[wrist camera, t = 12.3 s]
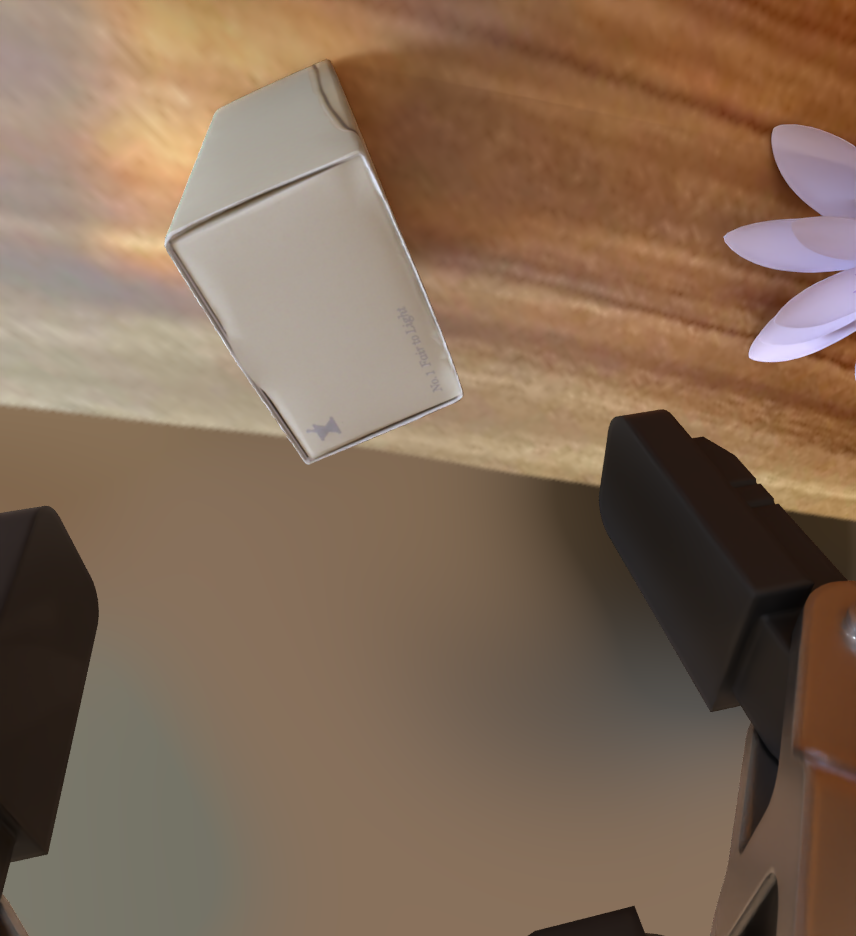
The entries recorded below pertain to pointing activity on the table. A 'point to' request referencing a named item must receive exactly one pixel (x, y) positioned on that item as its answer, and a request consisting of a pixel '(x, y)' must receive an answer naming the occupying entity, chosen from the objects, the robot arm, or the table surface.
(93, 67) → the table surface
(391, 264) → the cosmetic box
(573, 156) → the table surface
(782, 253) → the water lily
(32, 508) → the robot arm
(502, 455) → the table surface
